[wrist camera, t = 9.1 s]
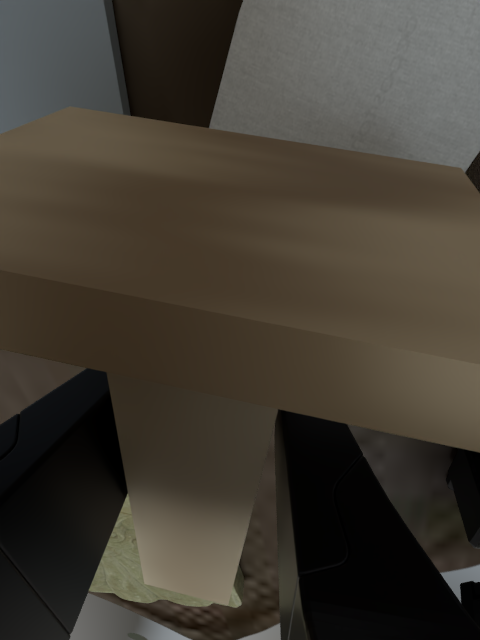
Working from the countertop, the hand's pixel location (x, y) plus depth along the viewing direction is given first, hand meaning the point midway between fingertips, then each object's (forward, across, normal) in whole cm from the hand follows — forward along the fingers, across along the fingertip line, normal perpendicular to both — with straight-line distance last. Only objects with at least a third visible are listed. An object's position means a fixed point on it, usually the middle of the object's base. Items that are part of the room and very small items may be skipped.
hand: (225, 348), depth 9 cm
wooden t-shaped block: (+1, 0, +2) cm, 2 cm away
